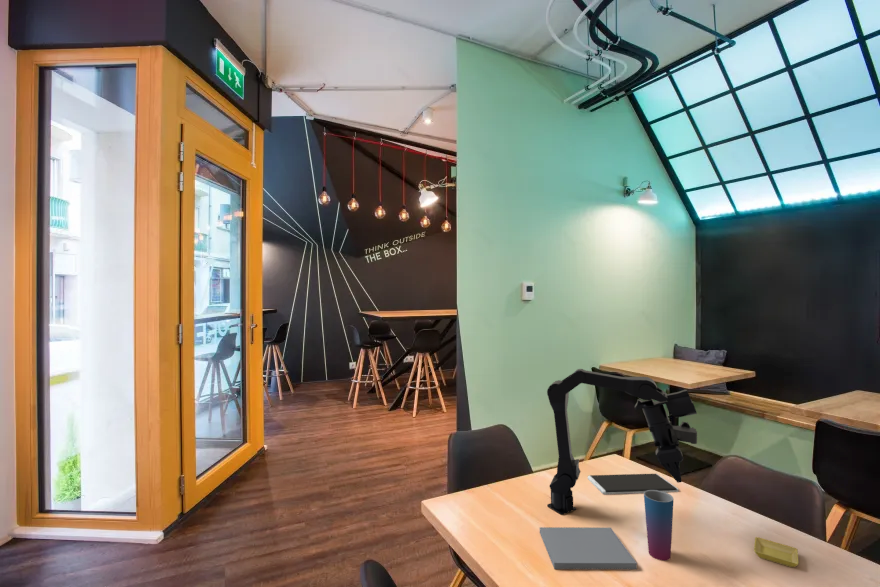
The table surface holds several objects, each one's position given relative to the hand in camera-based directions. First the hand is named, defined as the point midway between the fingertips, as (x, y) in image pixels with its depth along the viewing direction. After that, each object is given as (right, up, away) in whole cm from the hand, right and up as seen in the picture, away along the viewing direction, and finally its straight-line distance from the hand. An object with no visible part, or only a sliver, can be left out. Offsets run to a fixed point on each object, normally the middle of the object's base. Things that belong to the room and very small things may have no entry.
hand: (678, 475), depth 118 cm
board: (-29, -16, -8) cm, 34 cm away
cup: (-11, -16, -11) cm, 22 cm away
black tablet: (+1, -17, +30) cm, 35 cm away
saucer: (+18, -16, -12) cm, 27 cm away
